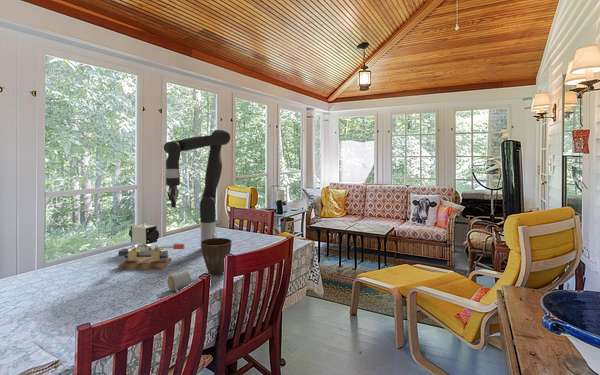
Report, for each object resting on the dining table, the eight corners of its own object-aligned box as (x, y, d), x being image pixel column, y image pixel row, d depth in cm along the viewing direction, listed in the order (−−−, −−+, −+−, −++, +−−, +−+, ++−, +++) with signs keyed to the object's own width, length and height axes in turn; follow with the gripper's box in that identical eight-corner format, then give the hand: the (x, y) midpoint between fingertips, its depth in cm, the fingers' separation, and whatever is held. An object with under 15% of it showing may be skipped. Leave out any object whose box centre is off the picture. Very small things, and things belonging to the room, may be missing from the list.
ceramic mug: (166, 289, 148) (166, 272, 147) (184, 284, 153) (184, 268, 152) (176, 297, 140) (176, 279, 139) (195, 292, 145) (194, 274, 145)
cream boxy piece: (161, 252, 205) (161, 223, 203) (150, 255, 197) (149, 225, 196) (141, 248, 213) (140, 220, 211) (129, 251, 205) (127, 223, 203)
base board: (171, 261, 188) (171, 257, 187) (162, 269, 174) (161, 265, 174) (131, 261, 187) (131, 257, 187) (118, 269, 173) (118, 265, 173)
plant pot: (236, 269, 175) (236, 238, 174) (223, 279, 161) (223, 246, 159) (210, 266, 178) (209, 237, 177) (195, 276, 164) (194, 244, 163)
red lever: (155, 248, 181) (155, 243, 181) (184, 248, 181) (184, 243, 181) (153, 249, 179) (153, 244, 178) (183, 249, 179) (182, 244, 179)
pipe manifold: (168, 260, 183) (168, 247, 182) (165, 262, 178) (164, 249, 177) (127, 260, 182) (126, 247, 182) (122, 262, 177) (122, 249, 177)
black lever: (137, 247, 181) (137, 243, 180) (123, 256, 166) (123, 251, 165) (133, 247, 181) (132, 243, 180) (118, 256, 165) (118, 251, 165)
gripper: (170, 176, 198) (171, 205, 200) (161, 177, 185) (162, 209, 186) (183, 176, 198) (183, 205, 200) (175, 177, 185) (176, 209, 187)
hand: (173, 207), depth 193 cm, fingers closed
